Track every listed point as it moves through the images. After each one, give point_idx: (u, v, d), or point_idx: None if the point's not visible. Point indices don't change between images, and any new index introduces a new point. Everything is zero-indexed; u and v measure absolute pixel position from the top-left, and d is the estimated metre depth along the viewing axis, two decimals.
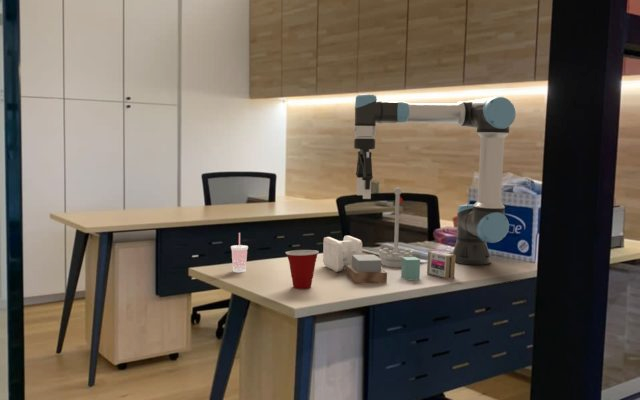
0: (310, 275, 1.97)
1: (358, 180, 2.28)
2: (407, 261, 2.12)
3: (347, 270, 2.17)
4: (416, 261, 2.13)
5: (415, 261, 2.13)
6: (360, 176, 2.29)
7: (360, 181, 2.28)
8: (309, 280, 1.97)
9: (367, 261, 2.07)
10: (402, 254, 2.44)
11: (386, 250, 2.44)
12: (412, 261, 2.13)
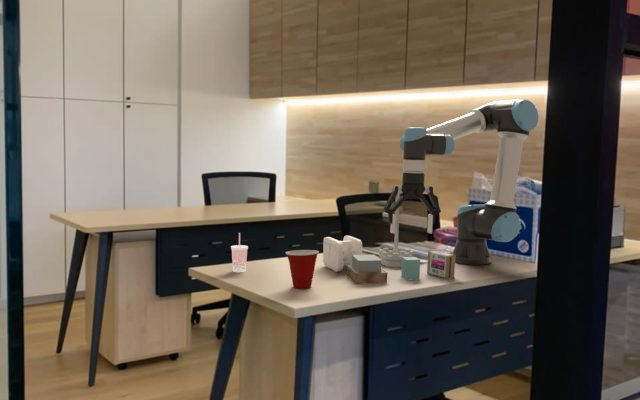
0: (310, 275, 1.97)
1: (428, 217, 2.16)
2: (407, 261, 2.12)
3: (347, 270, 2.17)
4: (416, 261, 2.13)
5: (415, 261, 2.13)
6: (431, 213, 2.15)
7: (429, 218, 2.15)
8: (309, 280, 1.97)
9: (367, 261, 2.07)
10: (402, 254, 2.44)
11: (386, 250, 2.44)
12: (412, 261, 2.13)
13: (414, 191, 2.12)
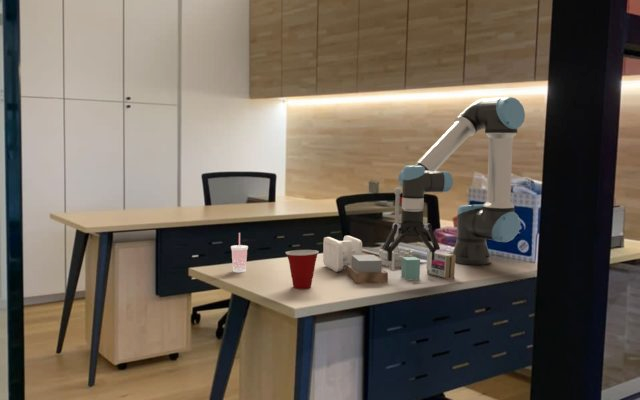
0: (310, 275, 1.97)
1: (427, 253, 2.17)
2: (407, 261, 2.12)
3: (348, 270, 2.17)
4: (416, 261, 2.13)
5: (415, 261, 2.13)
6: (430, 250, 2.16)
7: (428, 255, 2.16)
8: (309, 280, 1.97)
9: (367, 261, 2.07)
10: (402, 254, 2.44)
11: None
12: (412, 261, 2.13)
13: (413, 229, 2.13)
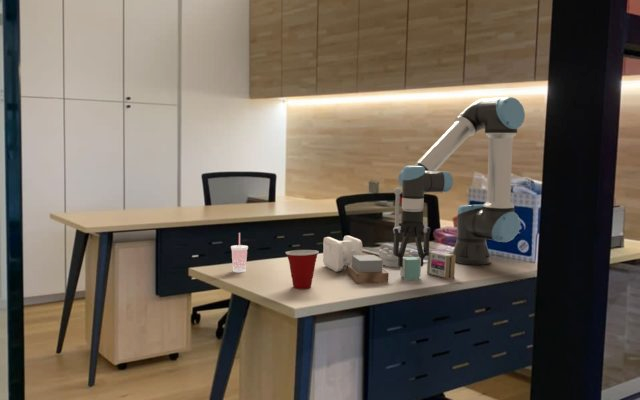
0: (310, 275, 1.97)
1: None
2: (407, 261, 2.12)
3: (348, 270, 2.17)
4: (416, 261, 2.13)
5: (415, 261, 2.13)
6: (419, 255, 2.16)
7: None
8: (309, 280, 1.97)
9: (368, 261, 2.07)
10: None
11: (386, 250, 2.44)
12: (412, 261, 2.13)
13: (413, 228, 2.13)
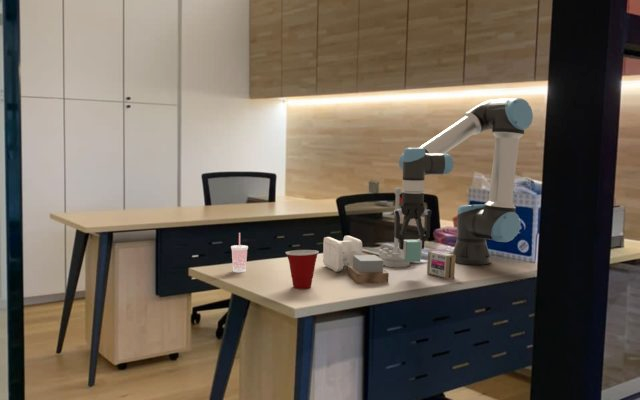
0: (310, 275, 1.97)
1: None
2: (408, 243, 2.12)
3: (348, 270, 2.17)
4: (417, 243, 2.12)
5: (416, 243, 2.12)
6: (420, 237, 2.15)
7: None
8: (309, 280, 1.97)
9: (369, 261, 2.07)
10: None
11: (386, 250, 2.44)
12: (413, 243, 2.12)
13: (414, 210, 2.12)
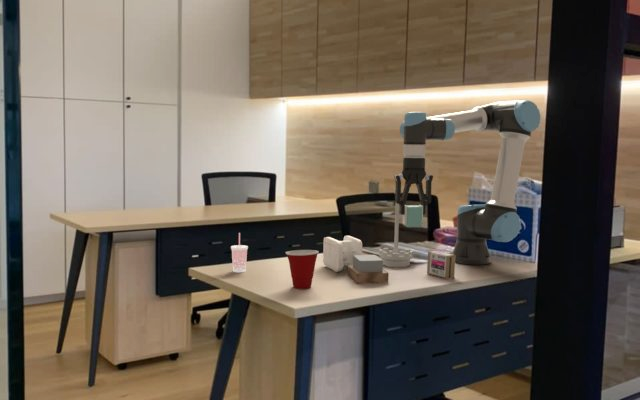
0: (310, 275, 1.97)
1: None
2: (409, 208, 2.11)
3: (348, 270, 2.17)
4: (418, 208, 2.11)
5: (417, 208, 2.11)
6: (421, 203, 2.14)
7: None
8: (309, 280, 1.97)
9: (369, 261, 2.07)
10: (402, 254, 2.44)
11: (386, 250, 2.44)
12: (414, 208, 2.11)
13: (415, 175, 2.11)
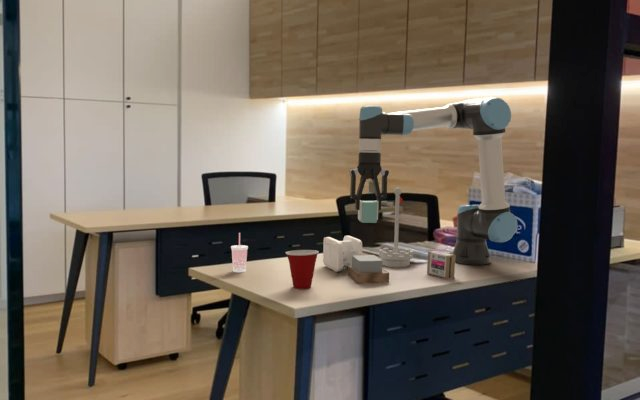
0: (310, 275, 1.97)
1: None
2: (364, 203, 2.08)
3: (349, 270, 2.17)
4: (373, 204, 2.08)
5: (372, 204, 2.08)
6: (377, 198, 2.11)
7: None
8: (309, 280, 1.97)
9: (368, 261, 2.07)
10: (402, 254, 2.44)
11: (386, 250, 2.44)
12: (369, 203, 2.08)
13: (370, 169, 2.08)
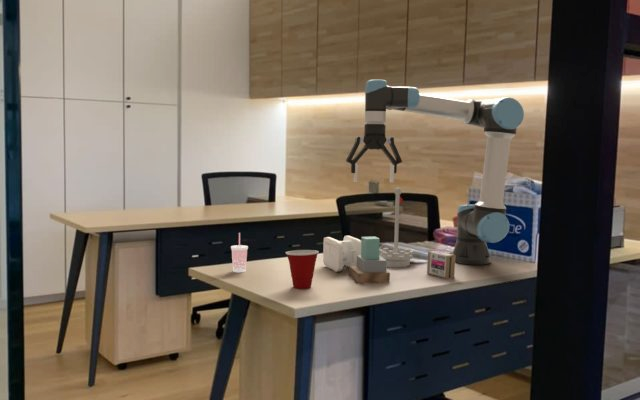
0: (310, 275, 1.97)
1: (390, 167, 2.24)
2: (366, 240, 2.09)
3: (349, 270, 2.17)
4: (376, 240, 2.09)
5: (374, 240, 2.09)
6: (393, 163, 2.23)
7: (391, 168, 2.23)
8: (309, 280, 1.97)
9: (372, 261, 2.07)
10: (402, 254, 2.44)
11: (386, 250, 2.44)
12: (371, 240, 2.09)
13: (376, 142, 2.20)
